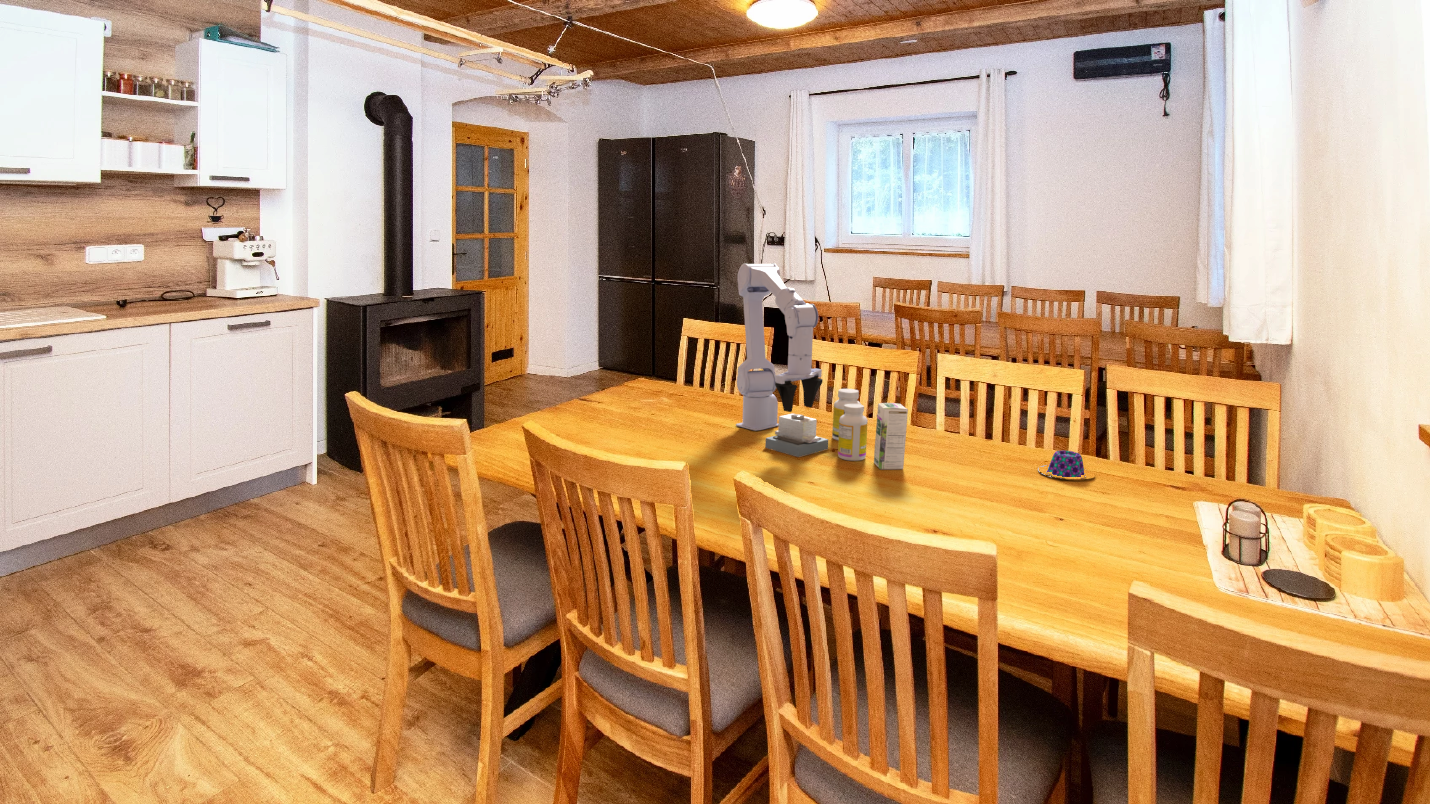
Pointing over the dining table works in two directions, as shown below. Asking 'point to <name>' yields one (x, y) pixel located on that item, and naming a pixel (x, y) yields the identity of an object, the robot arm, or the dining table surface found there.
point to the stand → (795, 446)
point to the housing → (797, 428)
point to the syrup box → (890, 436)
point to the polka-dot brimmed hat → (1066, 464)
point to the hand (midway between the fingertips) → (798, 408)
